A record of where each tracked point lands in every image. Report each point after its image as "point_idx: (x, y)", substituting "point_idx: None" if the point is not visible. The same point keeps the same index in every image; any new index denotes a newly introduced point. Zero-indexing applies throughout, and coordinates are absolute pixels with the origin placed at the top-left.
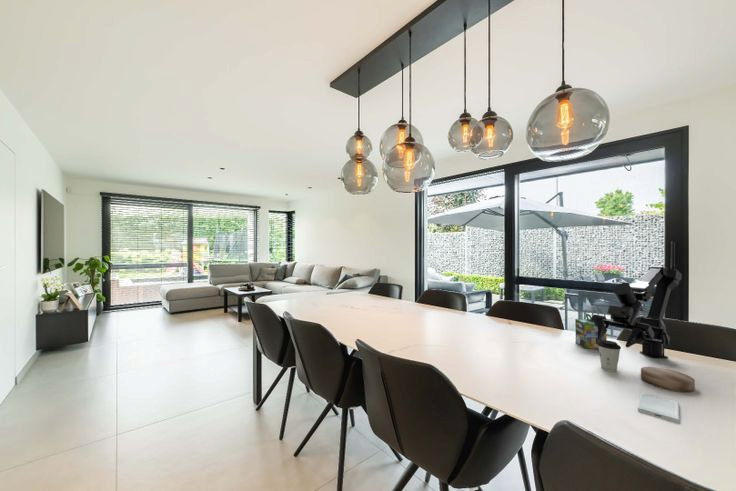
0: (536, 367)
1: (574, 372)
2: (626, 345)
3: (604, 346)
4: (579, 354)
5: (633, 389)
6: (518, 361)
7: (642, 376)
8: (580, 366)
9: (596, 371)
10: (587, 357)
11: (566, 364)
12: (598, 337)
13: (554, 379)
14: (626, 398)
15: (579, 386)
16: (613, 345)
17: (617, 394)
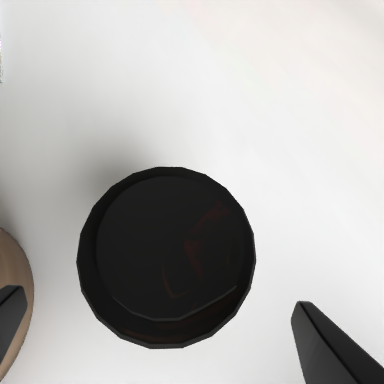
0: (305, 37)
1: (221, 94)
2: (8, 284)
3: (172, 168)
4: None
5: (31, 113)
6: (368, 37)
7: (10, 244)
8: (250, 174)
9: None
10: None
11: (289, 146)
12: (312, 312)
13: (216, 3)
14: (33, 34)
15: (151, 12)
16: (115, 205)
17: (59, 40)
